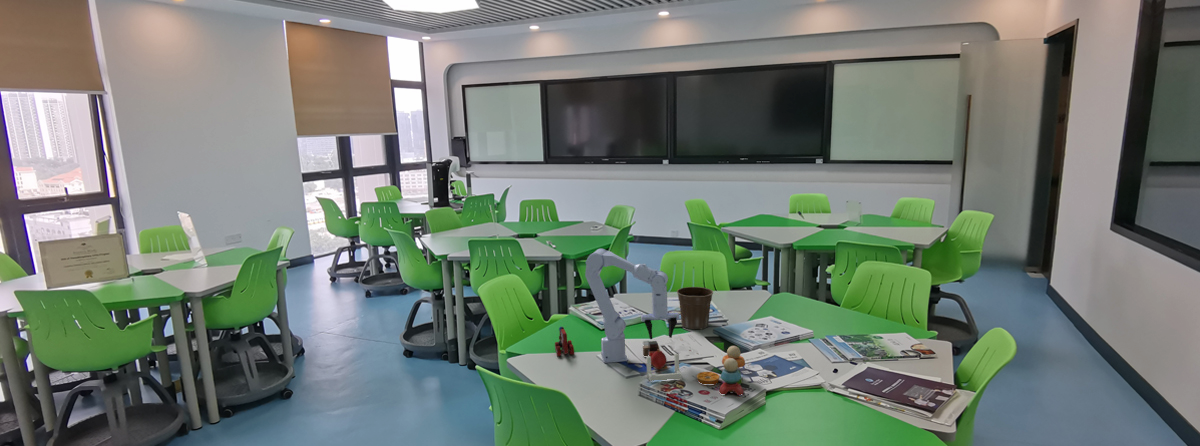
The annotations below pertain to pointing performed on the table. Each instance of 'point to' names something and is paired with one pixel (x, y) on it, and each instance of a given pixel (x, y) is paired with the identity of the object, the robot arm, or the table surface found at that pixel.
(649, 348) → the rod
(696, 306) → the plant pot
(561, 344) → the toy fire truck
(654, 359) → the onion
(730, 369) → the wooden toy figures
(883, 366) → the table surface
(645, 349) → the tan rectangular collar
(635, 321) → the table surface
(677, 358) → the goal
